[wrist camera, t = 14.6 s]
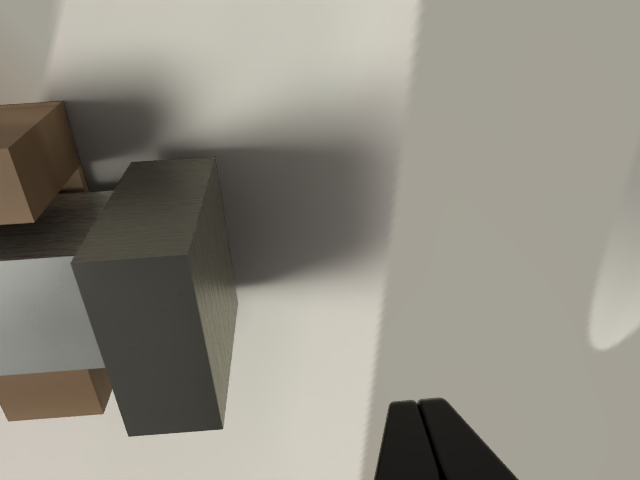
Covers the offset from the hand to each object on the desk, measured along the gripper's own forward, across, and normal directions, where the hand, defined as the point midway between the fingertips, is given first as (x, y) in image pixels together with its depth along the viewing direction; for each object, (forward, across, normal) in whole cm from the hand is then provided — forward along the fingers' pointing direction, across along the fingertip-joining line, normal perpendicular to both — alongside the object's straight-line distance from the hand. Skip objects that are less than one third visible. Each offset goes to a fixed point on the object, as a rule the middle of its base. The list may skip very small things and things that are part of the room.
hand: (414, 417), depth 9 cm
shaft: (+7, +9, 0) cm, 11 cm away
